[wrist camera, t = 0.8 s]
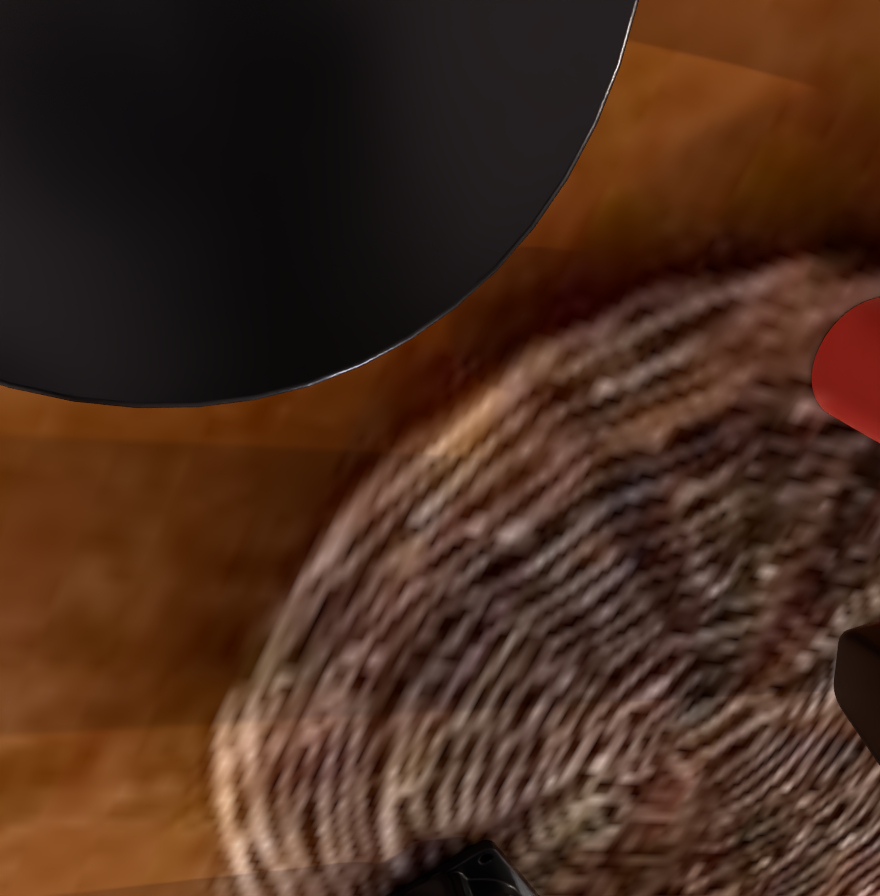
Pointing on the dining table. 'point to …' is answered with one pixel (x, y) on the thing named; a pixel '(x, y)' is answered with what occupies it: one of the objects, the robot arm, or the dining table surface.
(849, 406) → the red cylinder
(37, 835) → the dining table surface
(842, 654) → the robot arm
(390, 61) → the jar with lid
